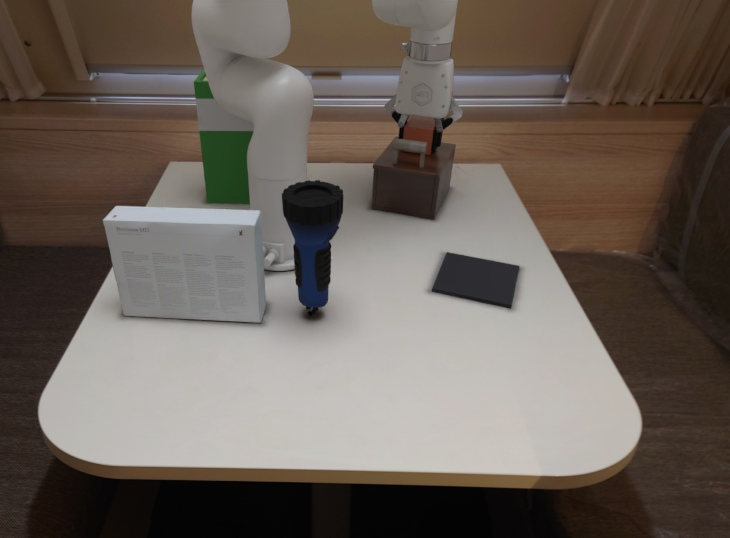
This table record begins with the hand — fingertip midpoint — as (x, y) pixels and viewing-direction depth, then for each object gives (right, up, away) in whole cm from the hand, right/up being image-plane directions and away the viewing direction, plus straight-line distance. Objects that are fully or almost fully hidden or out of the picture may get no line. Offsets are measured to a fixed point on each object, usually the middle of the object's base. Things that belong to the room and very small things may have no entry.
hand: (419, 146), depth 114 cm
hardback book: (-34, -9, +6) cm, 35 cm away
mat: (+5, -27, -21) cm, 35 cm away
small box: (0, 0, 0) cm, 0 cm away
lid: (-1, -3, -1) cm, 3 cm away
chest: (-1, -10, +4) cm, 10 cm away
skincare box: (-39, -32, -27) cm, 57 cm away
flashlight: (-22, -32, -29) cm, 49 cm away
